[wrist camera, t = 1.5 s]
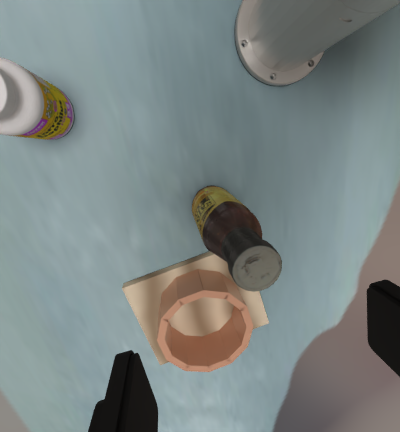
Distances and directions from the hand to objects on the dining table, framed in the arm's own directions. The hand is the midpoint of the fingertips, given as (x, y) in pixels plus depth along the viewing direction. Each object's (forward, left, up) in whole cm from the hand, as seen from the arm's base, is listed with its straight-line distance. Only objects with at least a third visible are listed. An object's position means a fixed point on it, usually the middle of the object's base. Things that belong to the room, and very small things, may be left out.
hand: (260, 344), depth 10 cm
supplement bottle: (+13, -17, -29) cm, 36 cm away
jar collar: (+4, +17, -27) cm, 32 cm away
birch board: (+4, +17, -28) cm, 33 cm away
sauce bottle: (-3, +2, -29) cm, 29 cm away
